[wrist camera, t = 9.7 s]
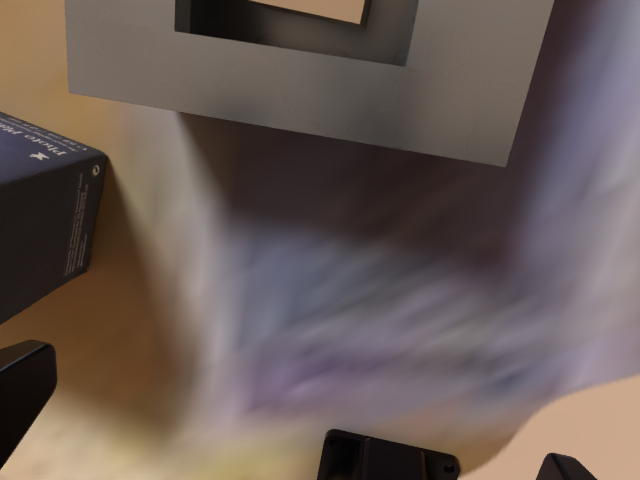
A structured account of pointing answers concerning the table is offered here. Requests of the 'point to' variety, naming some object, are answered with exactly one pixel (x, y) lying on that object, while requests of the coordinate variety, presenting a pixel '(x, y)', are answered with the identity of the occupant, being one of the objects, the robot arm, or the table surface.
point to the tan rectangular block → (324, 10)
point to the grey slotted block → (321, 67)
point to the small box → (43, 211)
